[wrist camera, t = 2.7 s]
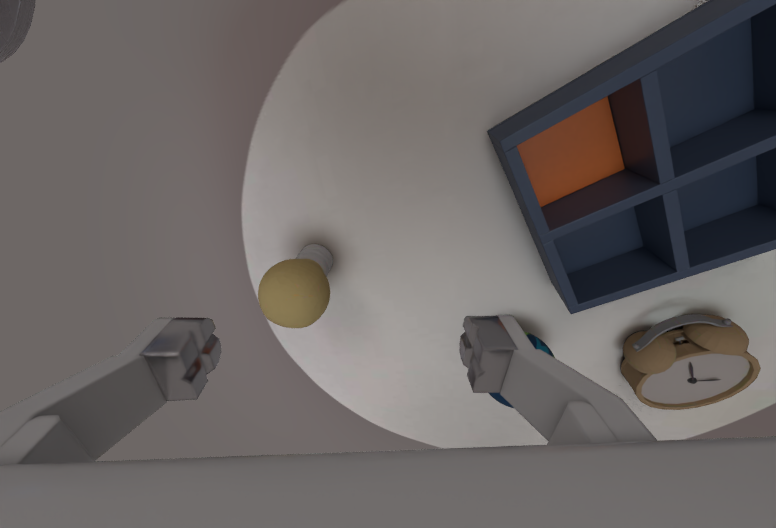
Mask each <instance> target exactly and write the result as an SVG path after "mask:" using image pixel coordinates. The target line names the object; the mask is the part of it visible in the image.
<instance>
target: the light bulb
mask: <svg viewBox="0 0 776 528" xmlns="http://www.w3.org/2000/svg"><path fill="white" fill-rule="evenodd" d="M332 264H333V258H332V255H331V253H330V252H329V251H328V250H327V249H326V248H325V247H323V246H321V245H317V244H311V245H307V246H305V247H304V248H303V249H302V250H301V252H300V253H299V254H298V256H297V257H296V258H295V259H289V260H285V261H282V262H279V263H277V264H276V265H274V266H273V267H271V268H270V269H269V270H268V271H267V272H266V273H265V275H264V276H263V278H262V280H261V282H260V285H259V290H258V299H259V304H260V307H261V309H262V311H263V314H264V315H265V316H266V317H267V319H269V320H270V321H272V322H273V323H275V324H277V325H280V326H283V327H288V328H303V327H307V326H309V325H311V324H313V323H314V322H315V321H316V320H318V319H319V318H320V317H321V315H322V314H323V313H324V311H325V310H326V308H327V305H328V303H329V299H330V287H329V282H328V279H327V275H328V273H329V271H330V269H331V267H332Z"/></svg>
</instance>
